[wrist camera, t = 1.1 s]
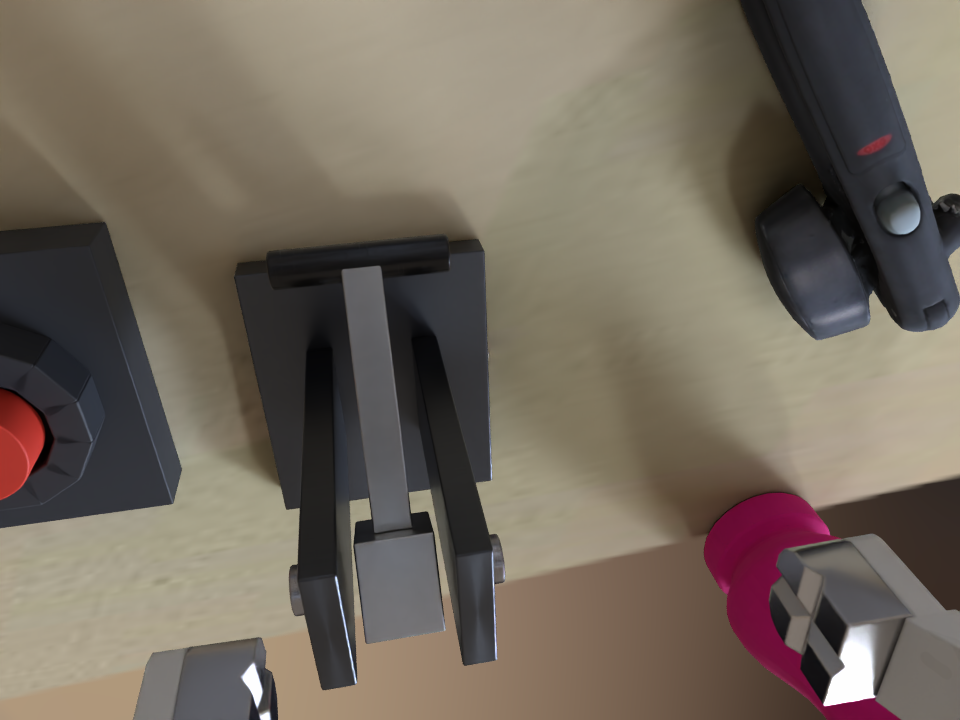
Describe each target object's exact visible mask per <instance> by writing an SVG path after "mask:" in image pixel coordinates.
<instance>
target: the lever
mask: <svg viewBox="0 0 960 720" xmlns="http://www.w3.org/2000/svg"><path fill="white" fill-rule="evenodd" d="M266 265H267V273H268V278H269V283H270V286H271V288H272V289H273V290H282V289H291V288H301V287H310V286H320V285H329V284H339V283H342V284H343V292H344V300H345V308H346V316H347V324H348V332H349V340H350V348H351V356H352V364H353V372H354V380H355V388H356V396H357V404H358V412H359V420H360V428H361V436H362V444H363V452H364V461H365V469H366V477H367V485H368V493H369V501H370V509H371V517H372V520H365V521H358V522H356V524H355V535H354V545H353V547H354V554H355V562H356V570H357V578H358V586H359V594H360V602H361V610H362V618H363V626H364V634H365V642H366V643H367V644H370V643H376V642H381V641H387V640H393V639H399V638H405V637H411V636H417V635H423V634H429V633H435V632H440V631H444V630H445V620H444V612H443V603H442V595H441V586H440V578H439V570H438V561H437V553H436V544H435V536H434V531H433V528H432V524H431V521H430V517H429V514H428V512H419V513H412V514H411V510H410V501H409V493H408V485H407V477H406V468H405V460H404V452H403V444H402V435H401V427H400V419H399V411H398V402H397V394H396V386H395V377H394V369H393V361H392V353H391V344H390V336H389V328H388V320H387V311H386V303H385V295H384V287H383V279H386V278H395V277H405V276H414V275H424V274H433V273H443V272H449V271H450V269H451V255H450V247H449V241H448V237H447V235H446V234H438V235H427V236H417V237H407V238H397V239H387V240H377V241H367V242H357V243H347V244H336V245H326V246H316V247H306V248H296V249H286V250H276V251H269V252H267V255H266Z"/></svg>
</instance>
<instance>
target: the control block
mask: <svg viewBox="0 0 960 720" xmlns="http://www.w3.org/2000/svg"><path fill="white" fill-rule="evenodd" d="M0 388H2V389H5V390H8V391H10V392H12V393H14V394H16V395H18V396H19V397H21V398H22V399H24V400H25V401H26V402H28V403H29V404H30V405H31V406H32V407H33V408H34V409H35V410H36V412H37V413H38V415H39V416H40V418H41V420H42V422H43V425H44V428H45V443H44V446H43V449H42V451H41V453H40V455H39V457H38V459H37V460H36V462H35V464H34V466H33V468H32V470H31V472H30V474H29V476H28V478H27V480H26V481H25V483H24V484H23V485H22V487H21V488H20V489H19V490H17V491H16V492H15V493H13V494H12V495H10V496H8V497H6V498H4V499H1V500H0V528H5V527H12V526H19V525H27V524H34V523H41V522H48V521H55V520H62V519H69V518H76V517H84V516H91V515H98V514H105V513H112V512H119V511H126V510H134V509H141V508H148V507H155V506H162V505H169V504H173V502H174V499H175V495H176V491H177V487H178V483H179V479H180V475H181V471H182V468H181V465H180V462H179V459H178V455H177V452H176V449H175V446H174V442H173V439H172V436H171V433H170V429H169V426H168V423H167V420H166V416H165V413H164V410H163V407H162V403H161V400H160V397H159V394H158V390H157V387H156V384H155V381H154V377H153V374H152V371H151V368H150V364H149V361H148V358H147V355H146V351H145V348H144V345H143V342H142V338H141V335H140V332H139V329H138V325H137V322H136V319H135V316H134V312H133V309H132V306H131V303H130V300H129V296H128V293H127V290H126V287H125V283H124V280H123V277H122V274H121V270H120V267H119V264H118V261H117V257H116V254H115V251H114V248H113V244H112V241H111V238H110V235H109V231H108V228H107V225H106V223H105V222H99V223H88V224H77V225H66V226H55V227H44V228H33V229H22V230H11V231H0Z"/></svg>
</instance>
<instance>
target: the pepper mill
mask: <svg viewBox="0 0 960 720" xmlns="http://www.w3.org/2000/svg"><path fill="white" fill-rule="evenodd" d="M835 539H840V538H838V537H835V536H831V535H830V533H829V530H828V528H827V526H826V525H825V523H824V522H823V521H822V520H821V518H820V517H819V516H818V515H817V514H816V512H815V511H814V510H813V508H812V507H811V506H810V505H809V504H808V503H807V502H806V501H805V500H803V499H802V498H800V497H798V496H795V495H792V494H786V493H767V494H763V495H759V496H755V497H752V498H750V499H748V500H746V501H743V502H741V503H739V504H738V505H736V506H735V507H733V508H732V509H730V510H729V511H727V512H726V513H725V514H724V515H723V516H722V517H721V518H720V519H719V520H718V521H717V522H716V523H715V524H714V526H713V528H712V529H711V531H710V533H709V534H708V536H707V538H706V542H705V547H704V558H705V562H706V564H707V566H708V568H709V570H710V572H711V573H712V575H713V577H714V579H715V580H716V582H717V584H718V585H719V587H720V588H721V589H722V591H723V592H724V593H726V594H727V595H728V596H727V615H728V618H729V622H730V625H731V627H732V629H733V631H734V632H735V634H736V635H737V637H738V638H739V640H740V641H741V642H742V644H743V645H744V647H745V648H746V649H747V650H748V651H749V653H750V654H751V655H752V656H753V657H754V658H755V659H757V660H758V661H759V662H760V663H761V664H762V665H763V666H764V667H765V668H766V669H768V670H769V671H770V672H772V673H773V674H775V675H776V676H777V677H779V678H780V679H782V680H783V681H785V682H786V683H787V684H789V685H790V686H792V687H793V688H794V689H796V690H797V691H798V692H800V693H801V694H802V695H804V696H805V697H806V698H807V699H809V700H810V701H811V702H812V703H813V704H814V705H815V706H816V707H817V709H818V710H819V711H821V713H822V714H823V715H824V716H825V717H826V719H827V720H901V719H900V718H898V717H897V716H896V715H894V714H893V713H891V712H890V711H889V710H887V709H886V708H885V707H883V706H882V705H881V704H879V703H878V702H877V701H875V699H876V697H875V698H869V699H863V700H857V701H851V702H845V703H839V704H833V705H827V706H823V704H822V702H821V701H820V699H819V698H818V696H817V695H816V693H815V691H814V690H813V688H812V687H811V685H810V684H809V682H808V681H807V679H806V677H805V676H804V674H803V673H802V671H801V670H800V666H801V657H802V655H801V654H799V653H798V652H796V651H794V650H793V649H791V648H789V647H788V646H786V645H785V644H784V642H783V641H782V639H781V637H780V636H779V634H778V632H777V631H776V628H775V626H774V623H773V621H772V618H771V613H770V606H769V596H770V590H771V586H772V585H773V584H774V583H775V582H776V581H777V579H778V578H779V577H780V576H781V575H782V574H781V573H780V571H779V570H778V568H777V567H776V564H777V560H778V556H779V554H780V553H781V552H782V551H783V550H784V549H785V548H791V547H797V546H802V545H808V544H813V543H819V542H824V541H830V540H835Z"/></svg>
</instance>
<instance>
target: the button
mask: <svg viewBox="0 0 960 720" xmlns="http://www.w3.org/2000/svg"><path fill="white" fill-rule="evenodd" d="M44 443H45V428H44V425H43V422H42V420H41V418H40V416H39V415H38V413H37V412H36V410H35V409H34V408H33V407H32V406H31V405H30V404H29V403H28V402H26V401H25V400H24V399H22V398H21V397H19V396H18V395H16V394H14V393H12V392H10V391H8V390H5V389H2V388H0V500H1V499H4V498H6V497H8V496H10V495H12V494H13V493H15V492H16V491H17V490H19V489H20V488H21V487H22V485H23V484H24V483H25V481H26V480H27V478H28V476H29V474H30V472H31V470H32V468H33V466H34V464H35V462H36V460H37V459H38V457H39V455H40V453H41V451H42V449H43V446H44Z"/></svg>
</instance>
